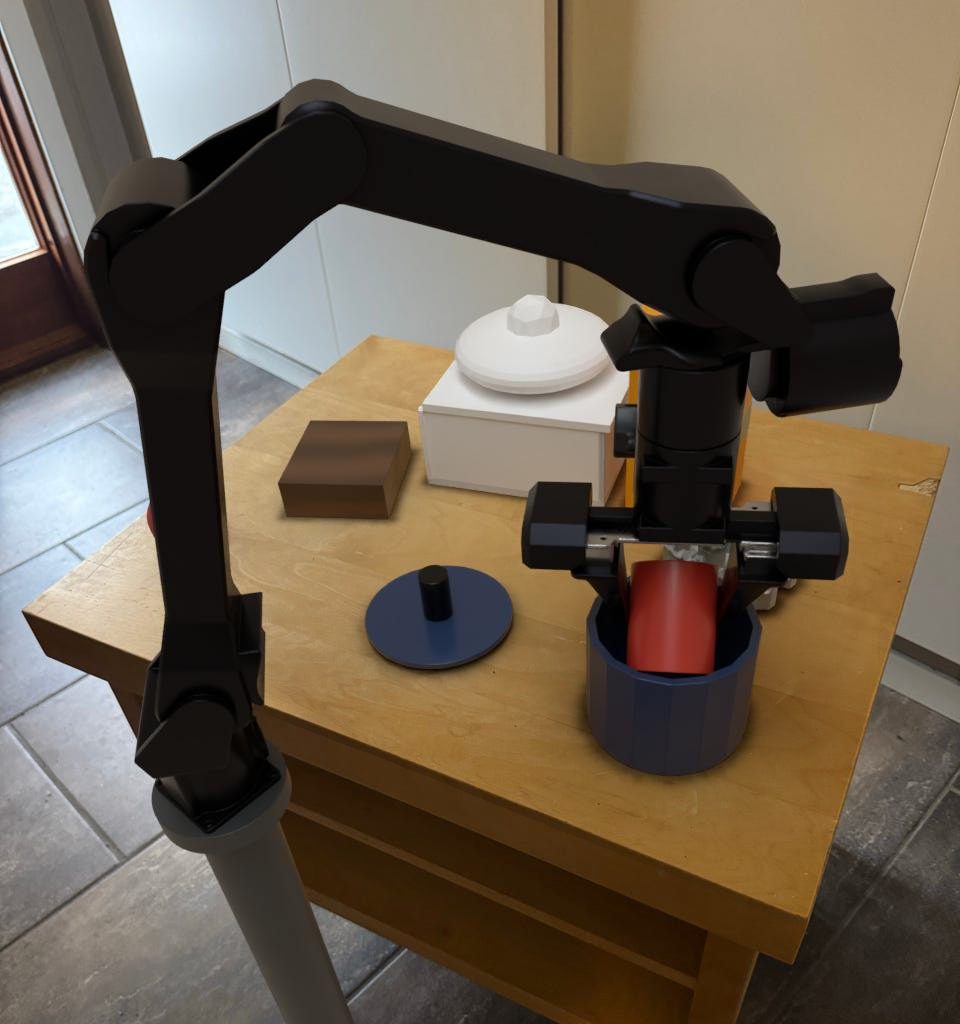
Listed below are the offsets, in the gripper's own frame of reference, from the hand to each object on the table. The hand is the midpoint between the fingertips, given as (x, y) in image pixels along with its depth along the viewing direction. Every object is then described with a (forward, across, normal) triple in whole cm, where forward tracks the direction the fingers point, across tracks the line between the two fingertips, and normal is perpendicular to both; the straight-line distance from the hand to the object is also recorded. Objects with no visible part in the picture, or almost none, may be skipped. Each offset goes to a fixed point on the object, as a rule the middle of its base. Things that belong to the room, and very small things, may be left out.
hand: (671, 630), depth 64 cm
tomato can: (+1, 0, +3) cm, 3 cm away
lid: (+8, +18, -9) cm, 22 cm away
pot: (+8, 0, 0) cm, 8 cm away
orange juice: (+8, -1, -27) cm, 28 cm away
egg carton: (+8, -5, -16) cm, 19 cm away
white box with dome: (+8, +12, -35) cm, 38 cm away
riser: (+8, +30, -28) cm, 42 cm away
